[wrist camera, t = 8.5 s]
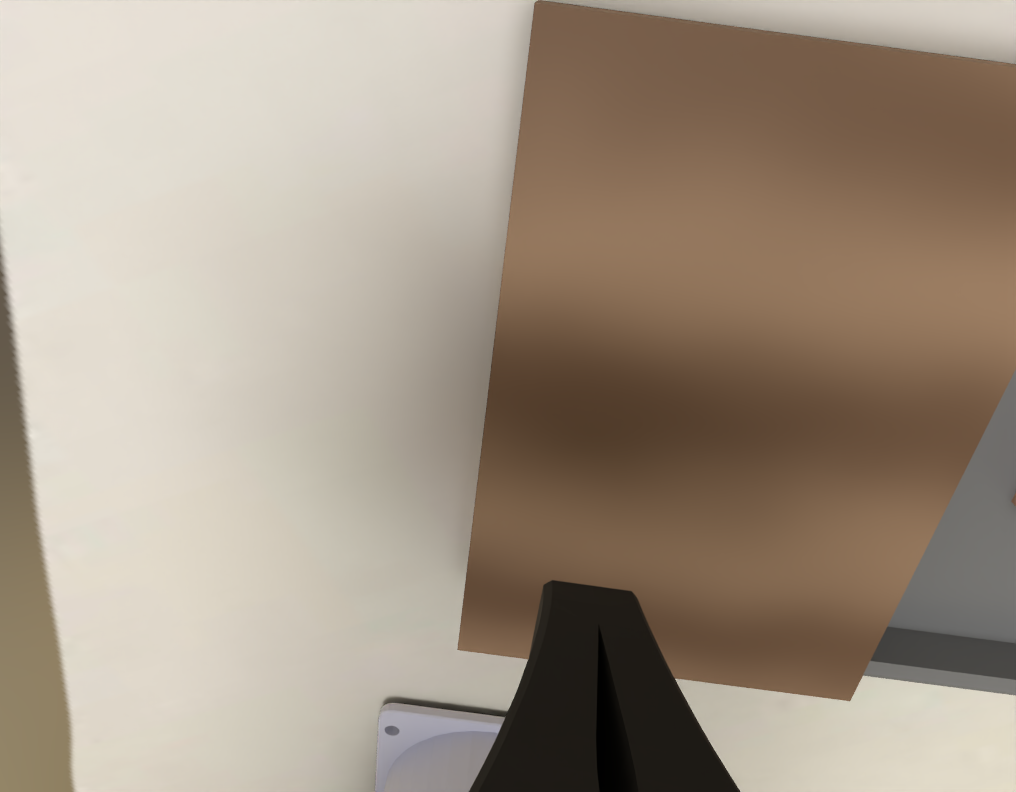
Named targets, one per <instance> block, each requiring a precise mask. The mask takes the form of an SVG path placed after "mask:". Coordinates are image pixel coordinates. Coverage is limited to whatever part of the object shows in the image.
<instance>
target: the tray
mask: <svg viewBox="0 0 1016 792" xmlns="http://www.w3.org/2000/svg"><path fill="white" fill-rule="evenodd" d="M1015 493H1016V370H1015V372H1014V374H1013V376H1012V378H1011V380H1010V382H1009V384H1008V386H1007V388H1006V390H1005V392H1004V394H1003V396H1002V398H1001V400H1000V402H999V404H998V406H997V408H996V410H995V412H994V414H993V416H992V418H991V420H990V422H989V424H988V426H987V428H986V430H985V432H984V434H983V436H982V438H981V440H980V442H979V444H978V446H977V448H976V450H975V452H974V454H973V456H972V458H971V460H970V462H969V464H968V466H967V468H966V470H965V472H964V474H963V476H962V478H961V480H960V482H959V484H958V486H957V488H956V490H955V492H954V494H953V496H952V498H951V500H950V502H949V504H948V506H947V508H946V510H945V512H944V514H943V516H942V518H941V520H940V522H939V524H938V526H937V528H936V530H935V532H934V534H933V536H932V538H931V540H930V542H929V544H928V546H927V548H926V550H925V552H924V554H923V556H922V558H921V560H920V562H919V564H918V566H917V568H916V570H915V572H914V574H913V576H912V578H911V580H910V582H909V584H908V586H907V588H906V590H905V592H904V594H903V596H902V598H901V600H900V602H899V604H898V606H897V608H896V610H895V612H894V614H893V616H892V618H891V620H890V622H889V624H888V626H887V628H886V630H885V632H884V634H883V636H882V638H881V640H880V642H879V644H878V646H877V648H876V650H875V652H874V654H873V656H872V658H871V660H870V662H869V664H868V666H867V668H866V670H865V672H864V674H863V676H871V677H879V678H886V679H894V680H902V681H909V682H917V683H925V684H933V685H940V686H948V687H956V688H963V689H971V690H979V691H986V692H994V693H1002V694H1009V695H1016V506H1015V505H1014V504H1013V503H1012V502H1011V501H1012V499H1013V497H1014V495H1015Z"/></svg>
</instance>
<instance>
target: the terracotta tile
mask: <svg viewBox="0 0 1016 792" xmlns="http://www.w3.org/2000/svg"><path fill="white" fill-rule="evenodd" d="M1011 502H1012V503H1013V504H1014V505H1015V506H1016V493H1015V495H1014V497H1013V499H1012V501H1011Z"/></svg>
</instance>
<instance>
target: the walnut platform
mask: <svg viewBox="0 0 1016 792" xmlns="http://www.w3.org/2000/svg"><path fill="white" fill-rule="evenodd" d="M1015 370H1016V64H1010V63H1002V62H995V61H987V60H980V59H973V58H965V57H958V56H950V55H943V54H935V53H928V52H920V51H913V50H906V49H898V48H891V47H883V46H876V45H868V44H861V43H853V42H846V41H839V40H831V39H824V38H816V37H809V36H801V35H794V34H786V33H779V32H772V31H764V30H757V29H749V28H742V27H734V26H727V25H719V24H712V23H705V22H697V21H690V20H682V19H675V18H667V17H660V16H652V15H645V14H638V13H630V12H623V11H615V10H608V9H600V8H593V7H585V6H578V5H571V4H563V3H556V2H548V1H541V0H538V1H537V2H535V5H534V14H533V22H532V30H531V39H530V47H529V55H528V64H527V72H526V81H525V89H524V97H523V106H522V114H521V122H520V131H519V139H518V147H517V156H516V164H515V173H514V181H513V189H512V198H511V206H510V214H509V223H508V231H507V240H506V248H505V256H504V265H503V273H502V281H501V290H500V298H499V306H498V315H497V323H496V332H495V340H494V348H493V357H492V365H491V373H490V382H489V390H488V398H487V407H486V415H485V424H484V432H483V440H482V449H481V457H480V465H479V474H478V482H477V491H476V499H475V507H474V516H473V524H472V532H471V541H470V549H469V557H468V566H467V574H466V583H465V591H464V599H463V608H462V616H461V624H460V633H459V641H458V649H457V650H462V651H470V652H477V653H485V654H493V655H500V656H508V657H516V658H523V659H529V654H530V649H531V644H532V639H533V634H534V629H535V624H536V619H537V614H538V609H539V604H540V599H541V594H542V589H543V585H544V584H546V583H548V582H549V581H551V580H556V581H563V582H570V583H577V584H584V585H592V586H599V587H606V588H613V589H621V590H628V591H632V592H633V593H634V594H635V596H636V597H637V598H638V601H639V603H640V606H641V608H642V611H643V613H644V615H645V617H646V620H647V622H648V624H649V627H650V629H651V631H652V633H653V635H654V638H655V640H656V642H657V644H658V646H659V648H660V650H661V652H662V654H663V656H664V658H665V660H666V663H667V665H668V667H669V669H670V671H671V673H672V675H673V676H674V678H677V679H685V680H692V681H700V682H708V683H715V684H723V685H731V686H738V687H746V688H754V689H762V690H769V691H777V692H785V693H792V694H800V695H808V696H815V697H823V698H831V699H838V700H846V701H850V700H851V698H852V696H853V694H854V692H855V690H856V688H857V686H858V684H859V682H860V680H861V678H862V676H863V674H864V672H865V670H866V668H867V666H868V664H869V662H870V660H871V658H872V656H873V654H874V652H875V650H876V648H877V646H878V644H879V642H880V640H881V638H882V636H883V634H884V632H885V630H886V628H887V626H888V624H889V622H890V620H891V618H892V616H893V614H894V612H895V610H896V608H897V606H898V604H899V602H900V600H901V598H902V596H903V594H904V592H905V590H906V588H907V586H908V584H909V582H910V580H911V578H912V576H913V574H914V572H915V570H916V568H917V566H918V564H919V562H920V560H921V558H922V556H923V554H924V552H925V550H926V548H927V546H928V544H929V542H930V540H931V538H932V536H933V534H934V532H935V530H936V528H937V526H938V524H939V522H940V520H941V518H942V516H943V514H944V512H945V510H946V508H947V506H948V504H949V502H950V500H951V498H952V496H953V494H954V492H955V490H956V488H957V486H958V484H959V482H960V480H961V478H962V476H963V474H964V472H965V470H966V468H967V466H968V464H969V462H970V460H971V458H972V456H973V454H974V452H975V450H976V448H977V446H978V444H979V442H980V440H981V438H982V436H983V434H984V432H985V430H986V428H987V426H988V424H989V422H990V420H991V418H992V416H993V414H994V412H995V410H996V408H997V406H998V404H999V402H1000V400H1001V398H1002V396H1003V394H1004V392H1005V390H1006V388H1007V386H1008V384H1009V382H1010V380H1011V378H1012V376H1013V374H1014V372H1015Z"/></svg>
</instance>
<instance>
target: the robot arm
mask: <svg viewBox="0 0 1016 792" xmlns="http://www.w3.org/2000/svg"><path fill="white" fill-rule="evenodd" d="M375 792H740V790H739V789H738V787H737V786H736V784H735V783H734V781H733V779H732V778H731V776H730V775H729V773H728V771H727V770H726V768H725V766H724V765H723V763H722V762H721V760H720V758H719V757H718V755H717V753H716V752H715V750H714V749H713V747H712V745H711V744H710V742H709V740H708V738H707V737H706V735H705V733H704V732H703V730H702V728H701V726H700V725H699V723H698V721H697V719H696V717H695V716H694V714H693V712H692V710H691V708H690V706H689V705H688V703H687V701H686V699H685V697H684V695H683V693H682V692H681V690H680V688H679V686H678V684H677V682H676V680H675V678H674V676H673V675H672V673H671V671H670V669H669V667H668V665H667V663H666V660H665V658H664V656H663V654H662V652H661V650H660V648H659V646H658V644H657V642H656V640H655V638H654V635H653V633H652V631H651V629H650V627H649V624H648V622H647V620H646V617H645V615H644V613H643V611H642V608H641V606H640V603H639V601H638V598H637V597H636V596H635V594H634V593H633V592H632V591H628V590H621V589H613V588H606V587H599V586H592V585H584V584H577V583H570V582H563V581H556V580H551V581H549V582H548V583H546V584H544V585H543V589H542V594H541V599H540V604H539V609H538V614H537V619H536V624H535V629H534V634H533V639H532V644H531V649H530V654H529V659H528V662H527V665H526V668H525V670H524V673H523V676H522V679H521V681H520V684H519V687H518V689H517V692H516V694H515V697H514V699H513V701H512V704H511V706H510V708H509V710H508V713H507V715H506V717H500V716H493V715H485V714H477V713H470V712H462V711H454V710H447V709H439V708H431V707H423V706H416V705H408V704H400V703H388V704H385V705H384V706H383V707H382V708H381V710H380V714H379V720H378V739H377V759H376V778H375Z"/></svg>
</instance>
